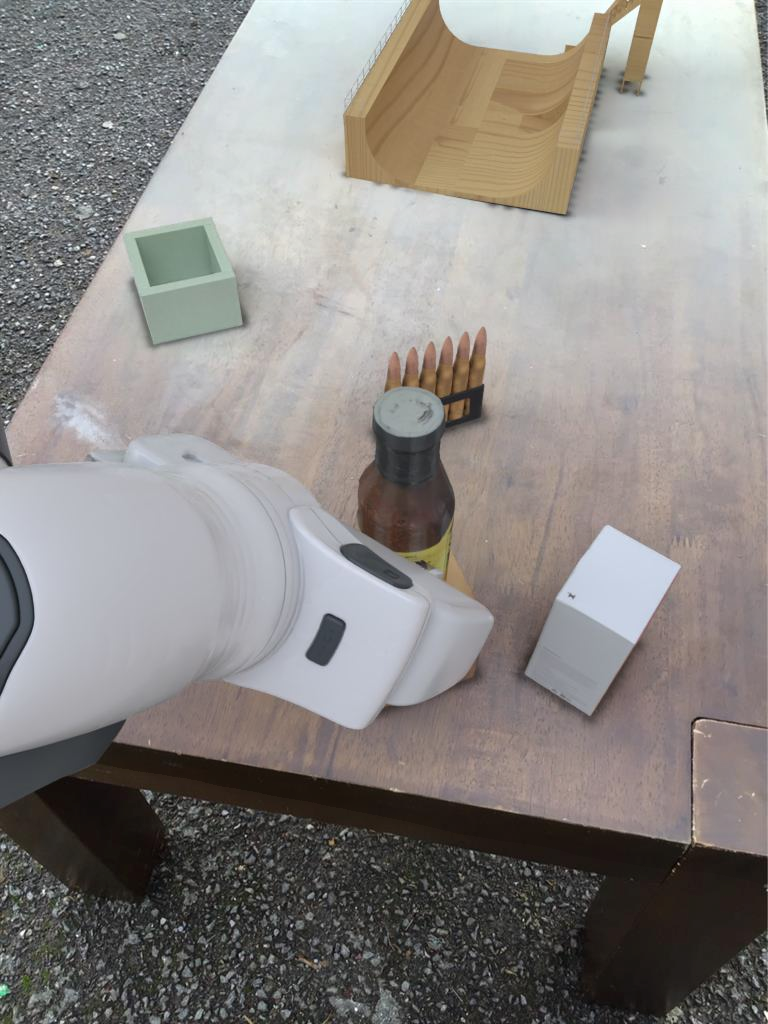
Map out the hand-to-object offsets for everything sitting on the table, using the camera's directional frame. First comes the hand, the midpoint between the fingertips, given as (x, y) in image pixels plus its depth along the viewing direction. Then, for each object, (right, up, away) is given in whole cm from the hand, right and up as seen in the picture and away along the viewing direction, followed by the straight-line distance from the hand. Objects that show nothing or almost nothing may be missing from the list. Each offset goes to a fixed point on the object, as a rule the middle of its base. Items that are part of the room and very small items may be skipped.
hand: (361, 538), depth 48 cm
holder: (-21, +25, +44) cm, 55 cm away
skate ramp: (+19, +57, +69) cm, 91 cm away
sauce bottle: (+2, -5, +13) cm, 14 cm away
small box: (+18, -11, +20) cm, 29 cm away
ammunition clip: (+6, +10, +35) cm, 37 cm away
